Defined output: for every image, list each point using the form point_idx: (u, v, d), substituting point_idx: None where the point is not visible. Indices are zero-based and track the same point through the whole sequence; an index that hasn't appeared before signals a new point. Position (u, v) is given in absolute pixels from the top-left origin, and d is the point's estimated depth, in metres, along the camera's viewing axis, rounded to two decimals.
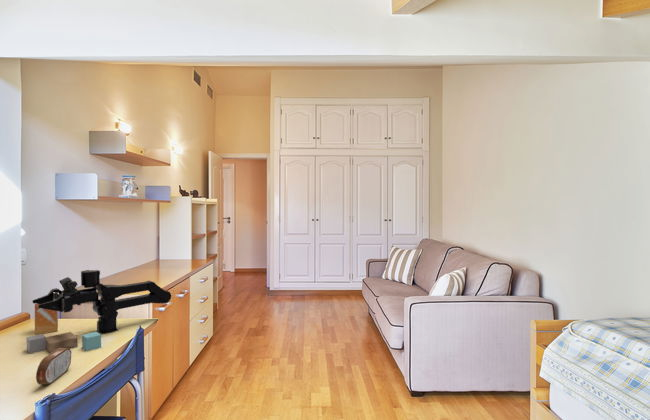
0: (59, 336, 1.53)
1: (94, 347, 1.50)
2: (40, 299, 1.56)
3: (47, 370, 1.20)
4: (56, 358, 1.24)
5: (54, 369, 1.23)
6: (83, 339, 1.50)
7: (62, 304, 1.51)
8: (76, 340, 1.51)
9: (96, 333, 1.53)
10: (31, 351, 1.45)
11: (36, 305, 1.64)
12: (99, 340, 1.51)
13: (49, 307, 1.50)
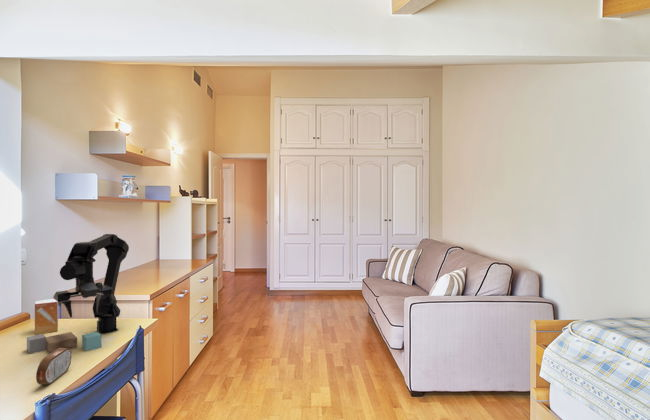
0: (59, 336, 1.53)
1: (94, 347, 1.50)
2: None
3: (47, 370, 1.20)
4: (56, 358, 1.24)
5: (54, 369, 1.23)
6: (83, 339, 1.50)
7: None
8: (76, 340, 1.51)
9: (96, 333, 1.53)
10: (31, 351, 1.45)
11: (36, 305, 1.64)
12: (99, 340, 1.51)
13: None
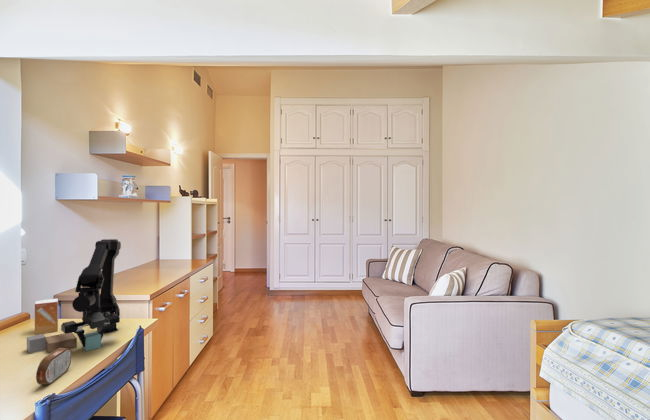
0: (59, 336, 1.53)
1: (94, 347, 1.50)
2: None
3: (47, 371, 1.20)
4: (56, 358, 1.24)
5: (54, 369, 1.23)
6: None
7: None
8: (75, 340, 1.51)
9: (96, 333, 1.53)
10: (31, 351, 1.45)
11: (36, 305, 1.64)
12: (99, 340, 1.51)
13: None
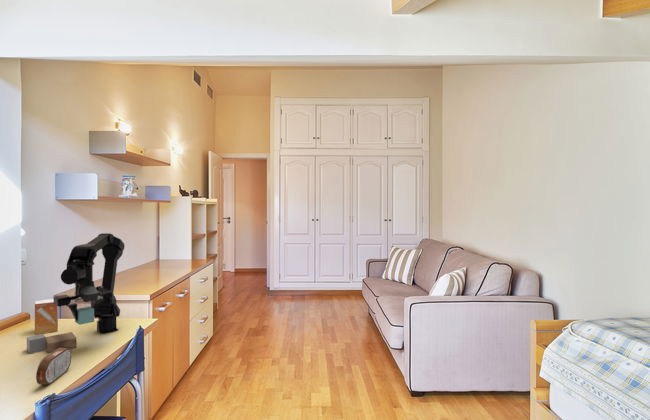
0: (59, 336, 1.53)
1: (87, 321, 1.49)
2: None
3: (47, 370, 1.20)
4: (56, 358, 1.24)
5: (54, 369, 1.23)
6: None
7: None
8: (75, 341, 1.51)
9: (89, 307, 1.52)
10: (31, 351, 1.45)
11: (36, 305, 1.64)
12: (92, 314, 1.51)
13: None
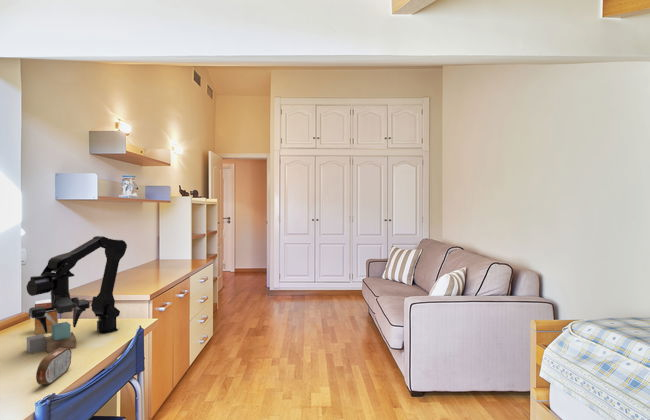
0: None
1: (63, 337, 1.50)
2: None
3: (47, 371, 1.20)
4: (56, 358, 1.24)
5: (54, 369, 1.23)
6: (52, 328, 1.50)
7: None
8: (74, 341, 1.51)
9: (66, 323, 1.53)
10: (31, 351, 1.45)
11: (36, 305, 1.64)
12: (68, 330, 1.51)
13: None
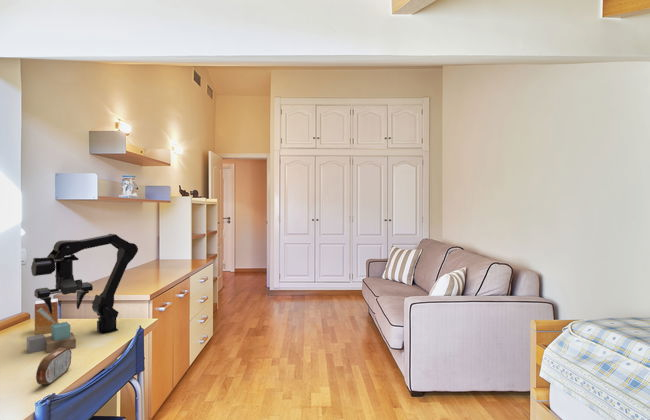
0: None
1: (63, 337, 1.50)
2: None
3: (47, 370, 1.20)
4: (56, 358, 1.24)
5: (54, 369, 1.23)
6: (52, 329, 1.50)
7: None
8: (74, 341, 1.50)
9: (65, 323, 1.53)
10: (31, 351, 1.45)
11: (36, 305, 1.64)
12: (68, 330, 1.51)
13: None
